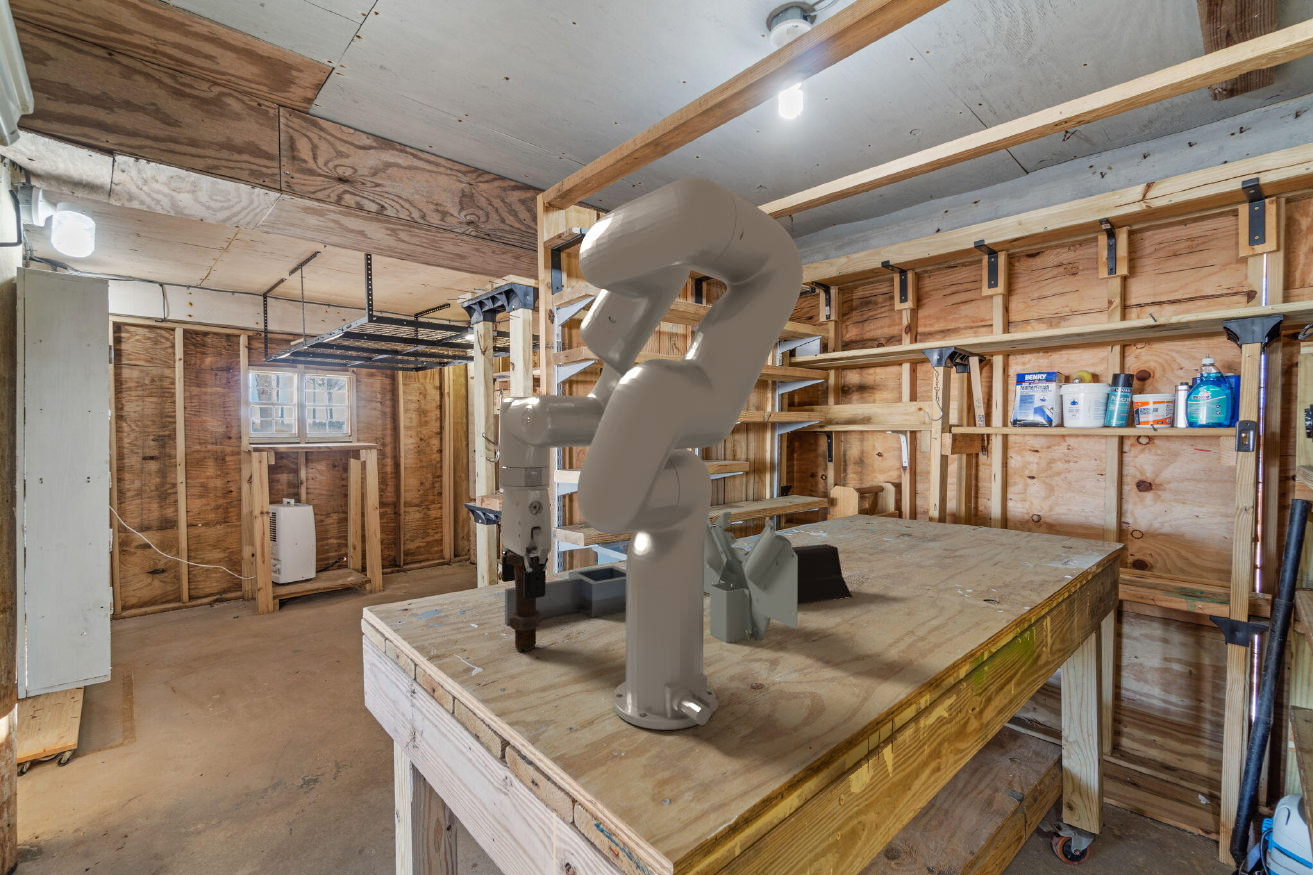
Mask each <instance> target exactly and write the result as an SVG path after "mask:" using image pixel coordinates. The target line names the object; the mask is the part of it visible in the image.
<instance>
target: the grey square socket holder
mask: <svg viewBox="0 0 1313 875" xmlns="http://www.w3.org/2000/svg"><path fill="white" fill-rule="evenodd" d="M515 587H516V586H515ZM515 587H510V588H508V587H507V588H504V624H505V625H506V626H510V625H509V619H510V616H511V614H512V613H513V612H515V589H516V588H515ZM536 610H538V611H539V612H540V613H541V620H542V619H547V618H552V617H558V616H563V615H568V614H569V615H570V614H573V613H578V612H582V613H584V614H585V615H587V616H589V617H591V618H592V619H593V618H597V617H598V618H599V617H602V616H607V615H612V614H616V613H622V612H626V569H623V568H621V567H619V566H617V565H614V564H613V565H608V566H600V567H594V568H590V569H589V568H588V569H581V570H576V571H568V578H565V579H560V580H554V581H552V580H551V581H547V582H546V589H545V596H544V597H539V598H536Z"/></svg>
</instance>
